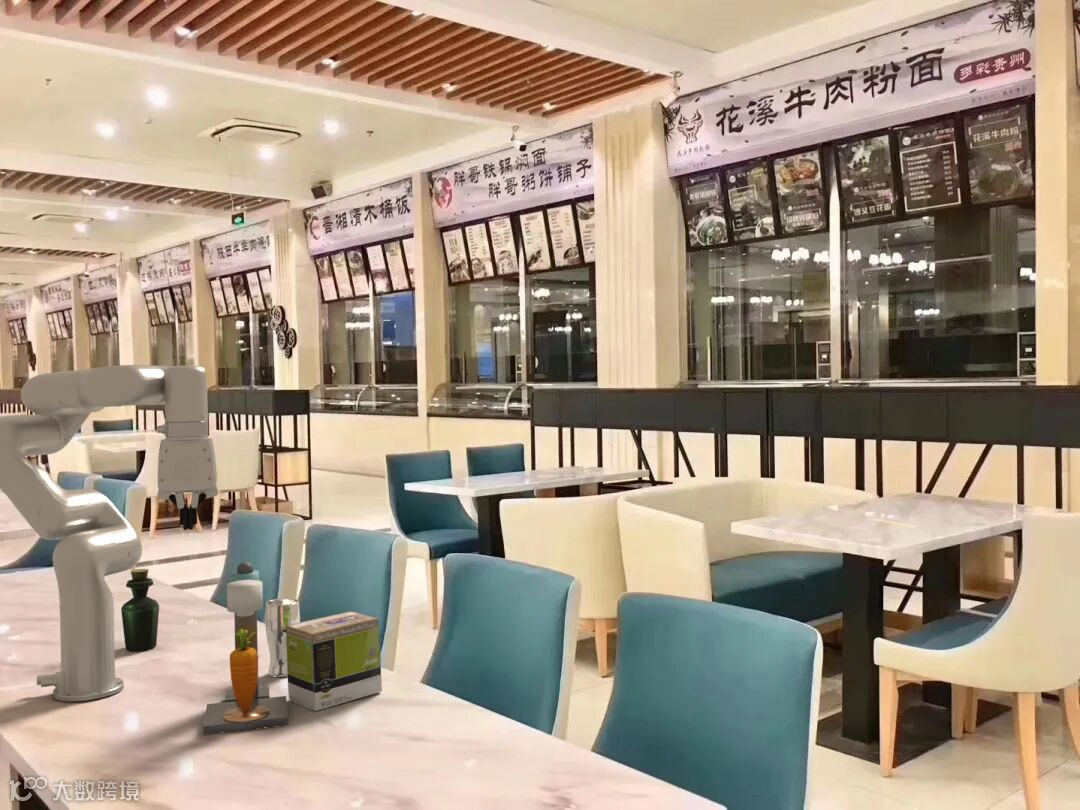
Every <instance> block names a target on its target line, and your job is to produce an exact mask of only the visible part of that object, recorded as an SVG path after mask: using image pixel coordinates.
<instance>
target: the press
mask: <svg viewBox="0 0 1080 810" xmlns="http://www.w3.org/2000/svg"><path fill="white" fill-rule="evenodd" d="M233 614H234V616H233V618H234V650H236V649H239V648H240V646H239V644H238V642H237V639H236V634H237V633H239V630H240V629H243V632H244V630H248V634H247V637H246V638H248V637H249V635H250V634H251V633H253V632H256V634H255V635H254V636H253V637H252V638H251V639H250V643H249V645H248V646H247V647H248V648H254V649H255V650H256V651H257V653H258V654H259V652H258V651H259V648H258V644H259V643H258V611H254V615H251V616H237V615H236V613H233ZM244 645H245V644H244ZM204 713H205V714H204V720H203V725H202V731H203V733H202V734H209V735H212V734H211V733H218V734H222V733H221V732H227V733H233V731H236V732H242V731H243V730H245V731H251V729H254V730H257V729H256V728H263V729H265V728H264V727H272V728H275V727H274V726H280V727H286V726H285V725H288V726H289V716H288V704H287V695H283V696H282V695H280V696H272V697H270V686H269V685H268V686H259V680H258V681H257V688H256V693H255V697H254V700H253V703H252V705H251V707H250V709H249V711H248V712H247V713H244V712H243V711H242V709H241V708H240V706H239V704H238V702H237V700H236V697H235V694H234V690H233V689H230V690H225V693H224V702H213V703H207V704H206V708H205V712H204ZM231 731H232V732H231ZM243 732H244V731H243Z"/></svg>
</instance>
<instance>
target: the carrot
mask: <svg viewBox="0 0 1080 810" xmlns="http://www.w3.org/2000/svg"><path fill="white" fill-rule="evenodd" d="M247 634H248V630H244V632H243V629H240V630H239V633H237V634H236V639H237V642H238V644H239V646H240V648H239V649H236V650H235V649H234V650H232V651H231V652H230V653H229V668H230V680H231V684H232V690H234V694H235V697H236V700H237V702H238V704H239V706H240V708H241V709H242V711H243V712H244V713H247V712H248V711H249V709H250V707H251V705H252V703H253V700H254V697H255V693H256V688H257V681H258V682H259V655H258V654H259V652H258V653H257V651H256V650H255V649H254V648H248V647H247V646H248V645H249V643H250V639H251V638H252V637H253V636H254V635H255V634H256V632H253V633H251V634H250V635H249V637H248V638H246V637H247ZM244 644H245V645H244Z"/></svg>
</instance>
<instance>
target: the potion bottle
mask: <svg viewBox="0 0 1080 810" xmlns="http://www.w3.org/2000/svg"><path fill="white" fill-rule="evenodd" d="M148 573H149V569H148V568H136V569H131V570H130V575H131V578H132V579H128V580H127V582H126V584H125V587H126V588H129V589H130V590H131V593H132V598H131V599H129V600H128V601H126V602H125V603H123V604H122V606H121V607H120V612H121V613H120V614H121V619H122V628H123V638H124V645H125V646H124V647H125V650H126V651H127V652H131V653H133V652H134V653H135V652H136V653H138V652H139V653H141V652H147V651H150V650H153V649H155V648H156V647H157V645H158V644H157V643H158V642H157V641H158V627H159V618H160V617H159V616H160V615H159V614H160V604H159V603H158V602H157V600H155V599H153V598H152V597H150V596H148V592H149V588H150V587H152V586H153V585H154V581H153V579H152V578H149V577H148V575H149V574H148Z"/></svg>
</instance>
